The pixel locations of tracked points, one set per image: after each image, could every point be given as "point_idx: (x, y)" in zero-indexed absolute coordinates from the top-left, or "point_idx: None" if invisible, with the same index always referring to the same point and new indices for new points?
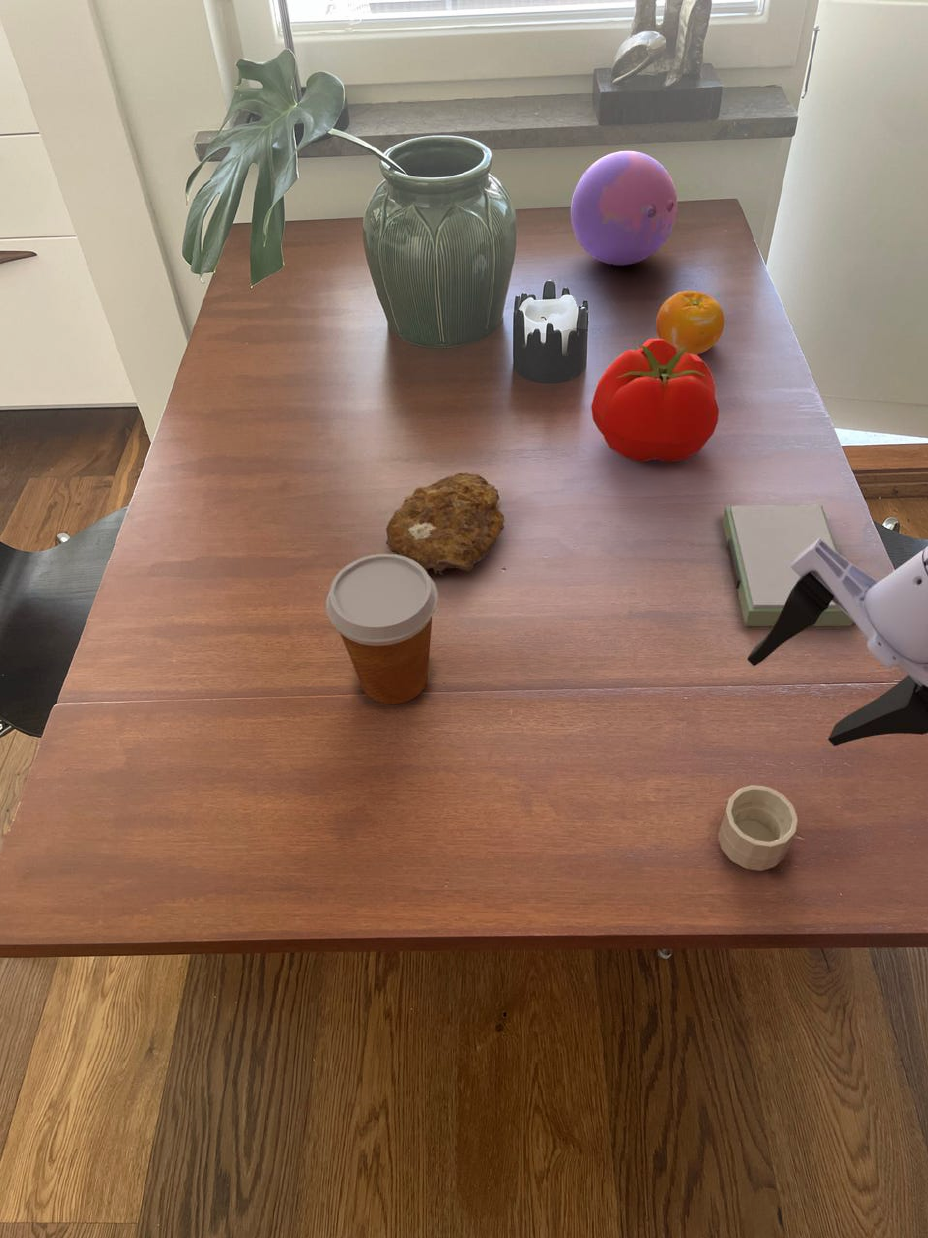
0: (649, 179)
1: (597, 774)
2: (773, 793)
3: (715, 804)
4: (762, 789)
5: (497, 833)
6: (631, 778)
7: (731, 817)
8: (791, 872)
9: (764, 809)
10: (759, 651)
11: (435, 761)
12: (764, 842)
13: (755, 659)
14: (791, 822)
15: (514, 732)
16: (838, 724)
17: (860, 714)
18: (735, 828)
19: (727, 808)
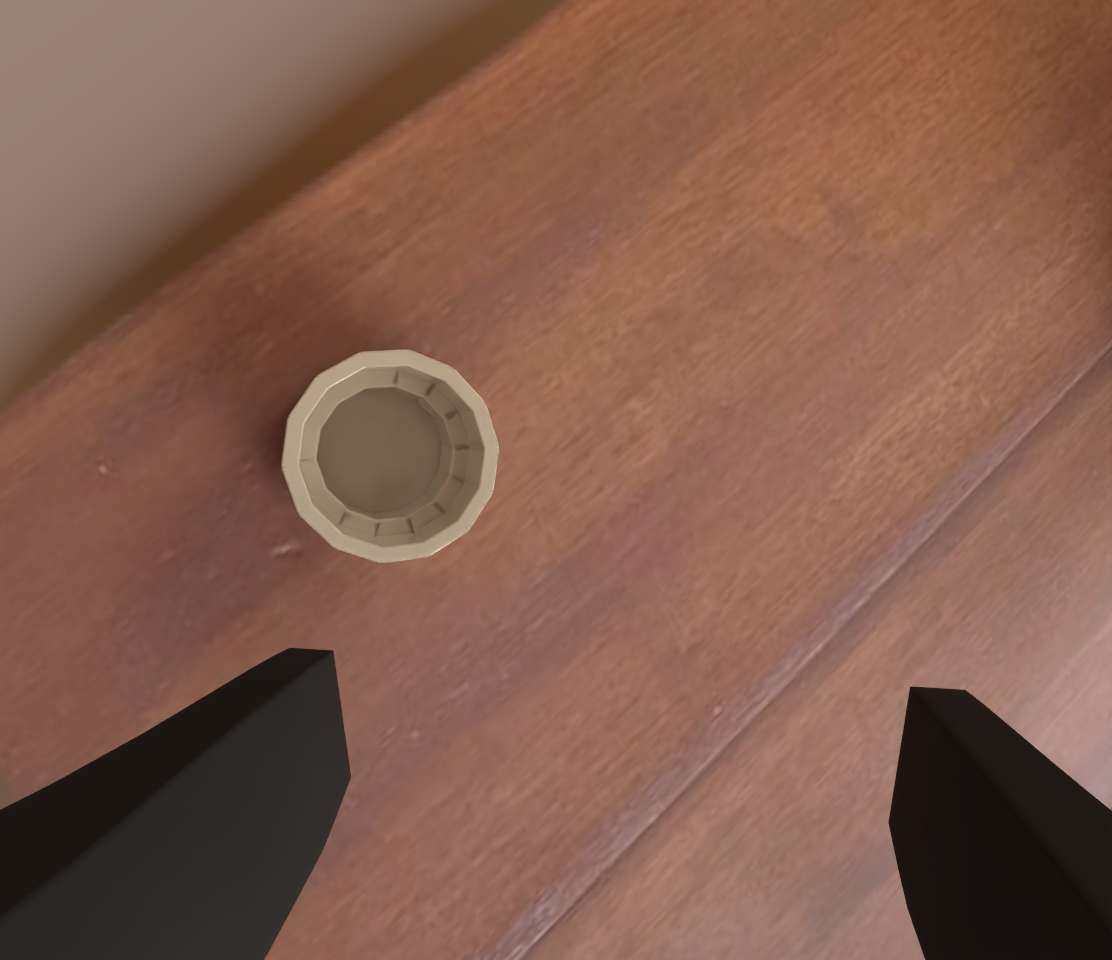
0: None
1: (763, 380)
2: (404, 547)
3: (506, 492)
4: (437, 536)
5: (847, 104)
6: (699, 422)
7: (461, 390)
8: (247, 442)
9: (399, 520)
10: (1026, 745)
11: (1031, 186)
12: (340, 374)
13: (960, 709)
14: (310, 497)
15: (952, 357)
16: (335, 776)
17: (246, 882)
18: (433, 364)
19: (486, 412)
